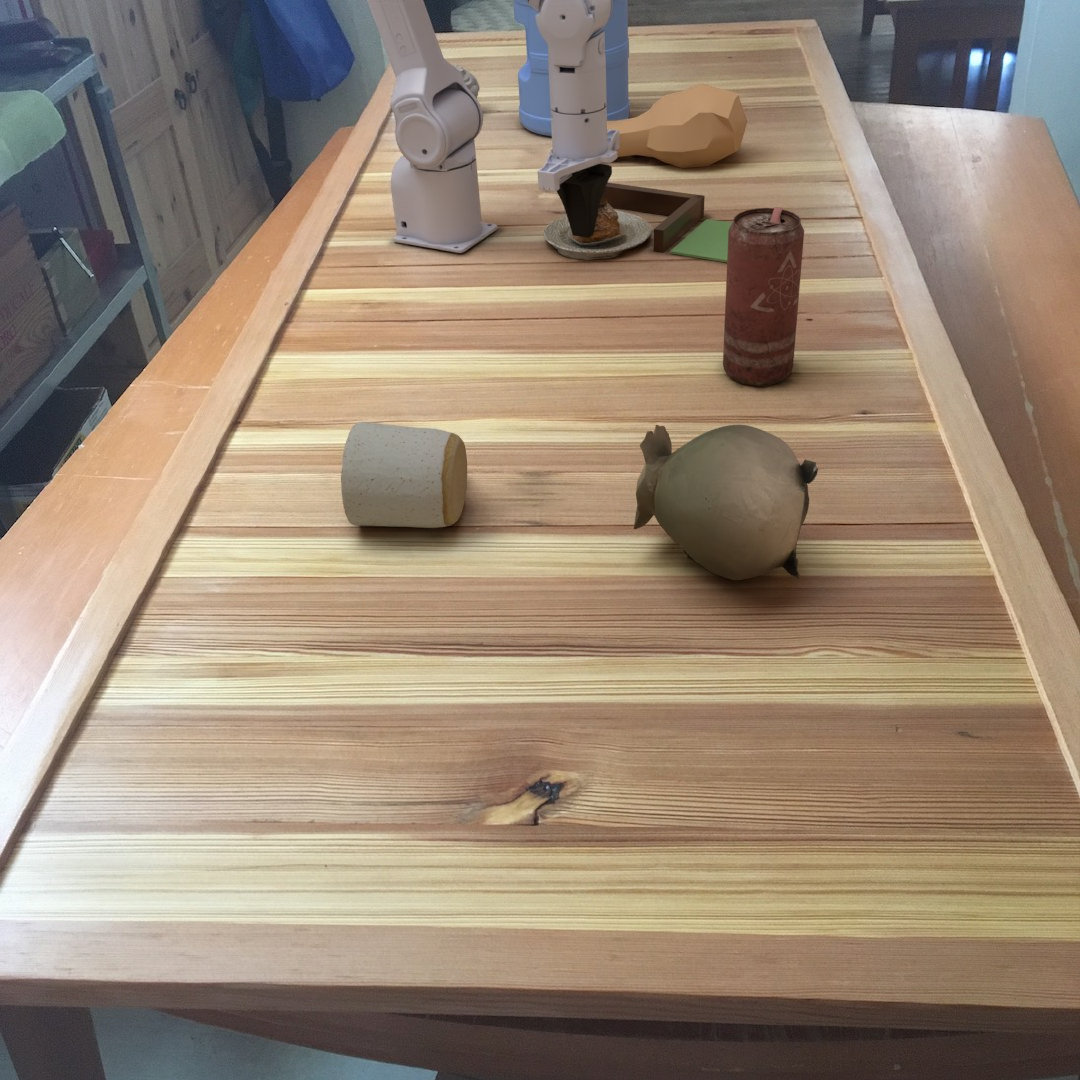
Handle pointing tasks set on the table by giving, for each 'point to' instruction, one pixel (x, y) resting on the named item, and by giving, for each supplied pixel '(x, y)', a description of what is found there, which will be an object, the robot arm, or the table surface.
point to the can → (762, 295)
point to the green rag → (706, 242)
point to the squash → (685, 128)
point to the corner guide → (659, 209)
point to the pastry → (599, 234)
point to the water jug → (537, 69)
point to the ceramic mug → (403, 476)
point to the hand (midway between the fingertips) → (582, 234)
